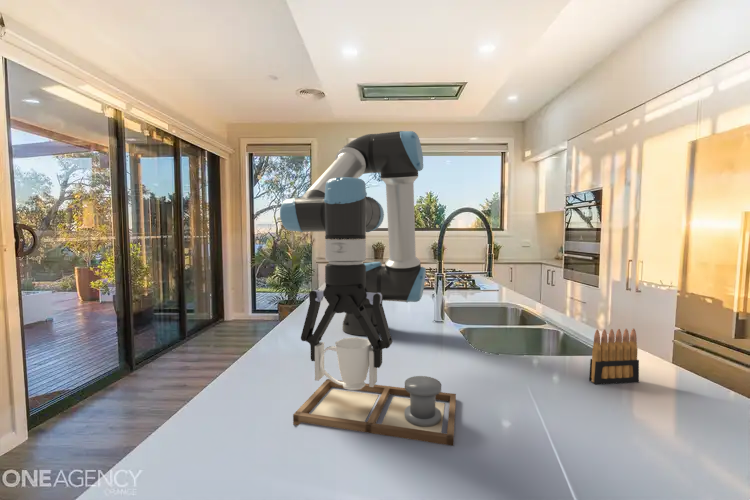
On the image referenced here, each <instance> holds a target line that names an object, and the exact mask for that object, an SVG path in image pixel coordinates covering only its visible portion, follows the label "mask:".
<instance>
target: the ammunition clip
mask: <svg viewBox="0 0 750 500" xmlns="http://www.w3.org/2000/svg"><path fill="white" fill-rule="evenodd" d="M637 338H638V337H637V332H636V329H635V328H632V329H631V332H630V334H629V330H628V328H625V329H624V330H623V335H622V331H621V329H620V328H618V329H617V331H616V333H615V332H614V329H612V328H611V329H610V331H609V333H607V330H606V329H603V331H602V333H601V334H600V331H599V330H598V329H596V330H595V333H594V336H593V345H592V351H591V352H592V353H591V358H590V362H589V363H590V364H589V374H588V375H589V376H588V377H589V378H588V381H589V382H591V383H592V384H593V385H597V386H598V385H616V384H617V385H618V384H634V383H636V384H637V383H640V360H639V359H638V342H637V341H638V340H637Z"/></svg>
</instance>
